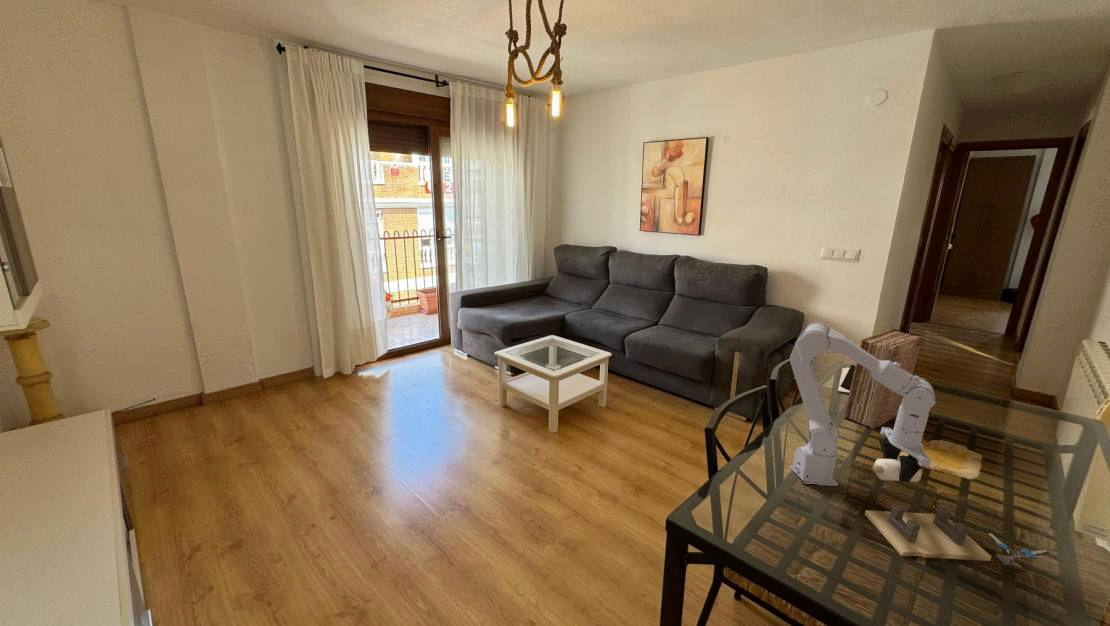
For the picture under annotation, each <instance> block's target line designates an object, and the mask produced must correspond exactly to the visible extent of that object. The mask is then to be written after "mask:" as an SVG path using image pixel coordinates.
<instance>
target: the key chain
mask: <svg viewBox="0 0 1110 626" xmlns="http://www.w3.org/2000/svg"><path fill="white" fill-rule="evenodd" d="M987 535H989V536H990V537H991V538H992V539H994V541H995V542H996V545H997V546H998V547H1000V548H1002V549H1003V550H1006V552H1007V554H1008V555H1004V554H1000V553H995V556H996V557H997V558H998V560H1000V562H1002V564H1003V565H1004V566H1006V565H1009V562H1010V560H1012V561H1013V563H1014V559H1015V560H1016V559H1017V557H1019V559H1021V557H1023V558H1028V557H1030V558H1031V559H1037V555H1038V554H1039V555H1040V554H1044V553H1047V552H1048V550H1045V549H1043V550H1042V549H1039V550H1033V551H1031V550H1030V549H1028V548H1027V549H1026V548H1022V549H1021V553H1023V554H1025V555H1026V556H1023V555H1021V554H1020V552H1019V553H1018V552H1017V553H1018V554H1019V555H1018V554H1017V555H1016V554H1014V553H1013V551H1011V552H1010V550H1011V549H1008V548H1007V546H1008V545H1006V544H1005V543H1003V542H1002V541H1001V540H999V538H997V537H996V536H995V535H994V534H993V533H991V532H990V533H989V532H988V534H987ZM1009 553H1010V554H1012V555H1013V556H1014V557H1015V558H1013V556H1009ZM1010 563H1011V562H1010ZM1013 563H1012V564H1013ZM1018 563H1019V562H1018ZM1018 563H1016V562H1015V563H1014V565H1017V566H1018V567H1021V568H1020V569H1023V567H1022V565H1019V564H1020V563H1019V564H1018Z"/></svg>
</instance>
